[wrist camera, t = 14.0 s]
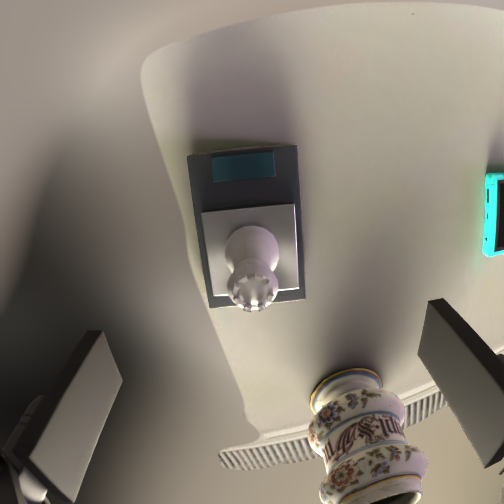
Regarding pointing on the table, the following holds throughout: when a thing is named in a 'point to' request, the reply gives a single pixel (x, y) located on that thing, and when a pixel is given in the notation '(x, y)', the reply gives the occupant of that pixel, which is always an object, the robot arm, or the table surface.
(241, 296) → the rook chess piece
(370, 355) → the table surface
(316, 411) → the apothecary jar
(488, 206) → the handheld game console
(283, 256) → the scale pan
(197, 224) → the scale base
